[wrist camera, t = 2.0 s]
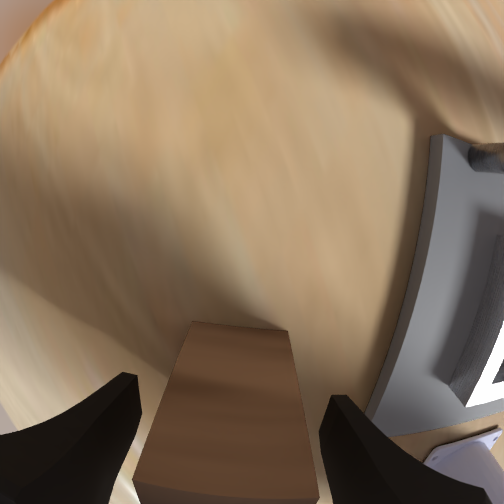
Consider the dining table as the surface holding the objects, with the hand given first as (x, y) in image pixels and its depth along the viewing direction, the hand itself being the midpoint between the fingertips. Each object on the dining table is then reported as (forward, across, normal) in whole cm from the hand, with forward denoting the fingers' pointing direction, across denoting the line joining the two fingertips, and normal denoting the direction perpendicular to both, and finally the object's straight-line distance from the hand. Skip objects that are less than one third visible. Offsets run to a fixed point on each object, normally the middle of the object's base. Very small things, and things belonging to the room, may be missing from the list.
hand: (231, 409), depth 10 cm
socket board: (+3, -15, -4) cm, 16 cm away
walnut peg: (+3, 0, 0) cm, 3 cm away
